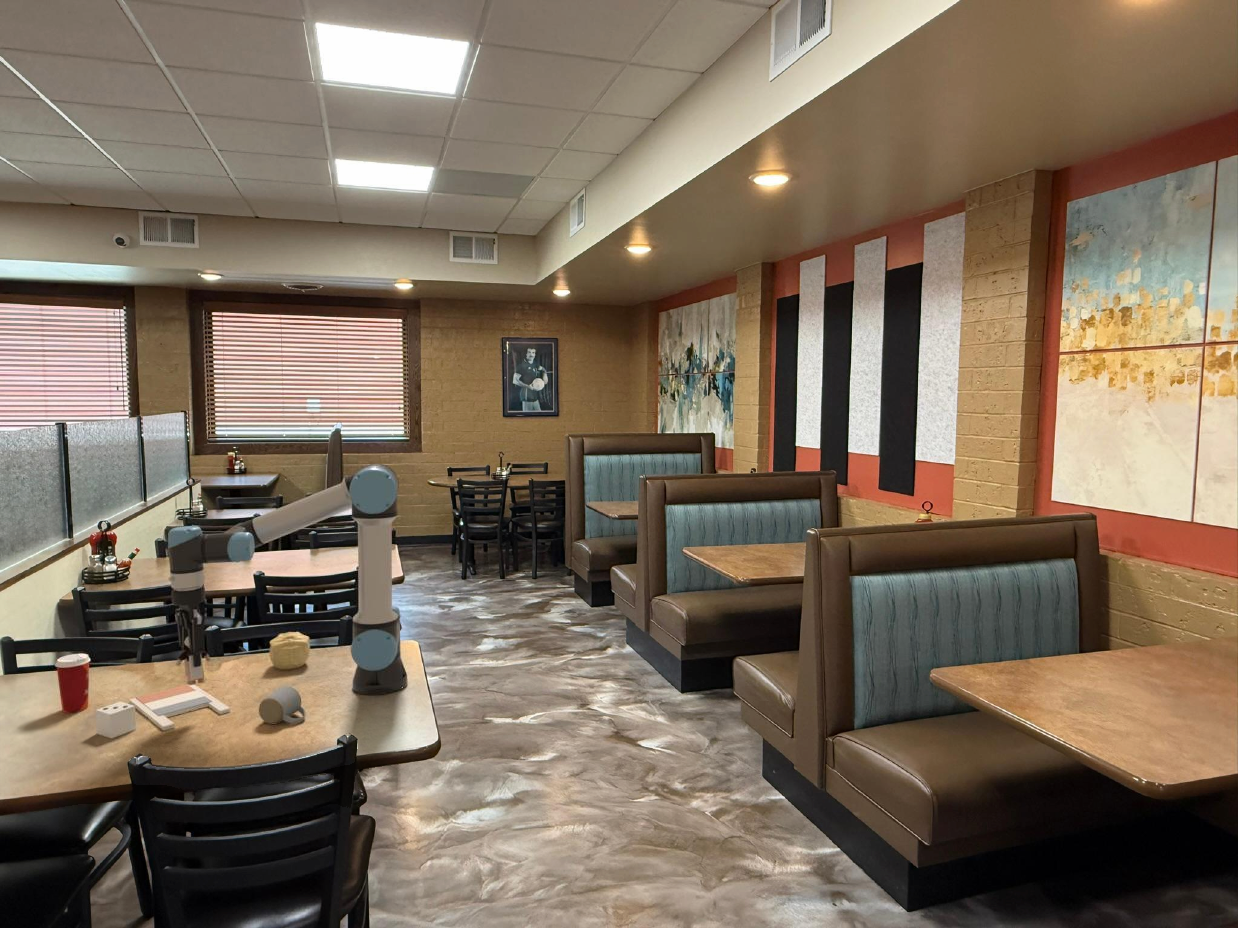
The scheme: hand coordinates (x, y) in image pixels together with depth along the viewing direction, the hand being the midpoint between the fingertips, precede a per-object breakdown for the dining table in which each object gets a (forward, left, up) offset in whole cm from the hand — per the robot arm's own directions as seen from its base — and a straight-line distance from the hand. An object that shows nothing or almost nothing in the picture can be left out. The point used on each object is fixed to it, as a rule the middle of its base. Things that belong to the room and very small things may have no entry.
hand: (193, 676), depth 202 cm
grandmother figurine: (0, 0, -2) cm, 2 cm away
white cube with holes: (+5, +16, -11) cm, 20 cm away
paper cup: (+29, +19, -11) cm, 37 cm away
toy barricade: (+10, 0, -11) cm, 15 cm away
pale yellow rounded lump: (+20, -35, -11) cm, 42 cm away
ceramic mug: (-18, -15, -11) cm, 26 cm away
